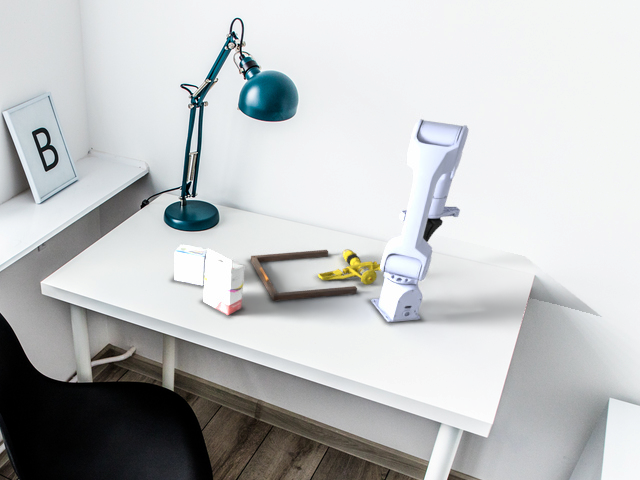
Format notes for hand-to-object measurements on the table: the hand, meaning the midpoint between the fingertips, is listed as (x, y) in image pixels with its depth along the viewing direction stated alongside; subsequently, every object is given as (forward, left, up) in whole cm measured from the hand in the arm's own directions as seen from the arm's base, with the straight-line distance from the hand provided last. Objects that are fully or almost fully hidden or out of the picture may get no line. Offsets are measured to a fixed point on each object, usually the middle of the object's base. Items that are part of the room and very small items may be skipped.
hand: (421, 243), depth 167 cm
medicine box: (+3, +60, -7) cm, 60 cm away
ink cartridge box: (-10, +55, -7) cm, 56 cm away
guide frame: (0, +31, -7) cm, 31 cm away
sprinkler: (0, +18, -7) cm, 19 cm away
